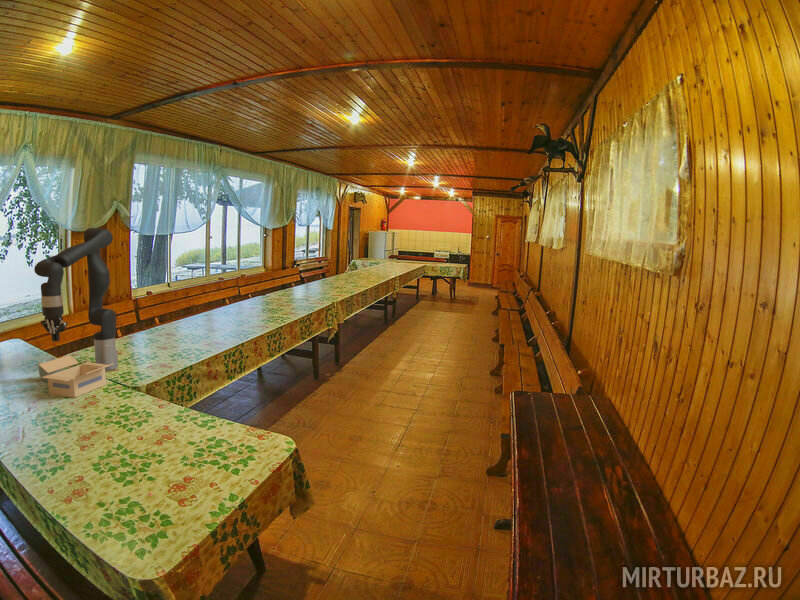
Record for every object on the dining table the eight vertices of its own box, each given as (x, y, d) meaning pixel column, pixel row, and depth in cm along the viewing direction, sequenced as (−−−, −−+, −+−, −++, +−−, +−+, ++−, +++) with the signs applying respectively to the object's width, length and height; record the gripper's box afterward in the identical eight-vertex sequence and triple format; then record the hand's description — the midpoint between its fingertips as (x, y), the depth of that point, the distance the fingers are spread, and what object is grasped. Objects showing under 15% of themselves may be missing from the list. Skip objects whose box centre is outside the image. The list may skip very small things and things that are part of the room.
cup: (48, 384, 200) (46, 364, 198) (35, 382, 201) (33, 362, 200) (64, 378, 207) (63, 359, 206) (51, 376, 209) (50, 357, 207)
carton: (87, 379, 208) (86, 361, 206) (111, 383, 205) (110, 365, 204) (42, 396, 186) (40, 377, 184) (68, 400, 184) (66, 380, 182)
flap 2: (75, 376, 186) (75, 377, 186) (85, 373, 184) (85, 374, 184) (104, 366, 200) (104, 367, 200) (113, 363, 199) (114, 363, 199)
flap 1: (78, 362, 202) (78, 363, 203) (69, 355, 203) (69, 355, 203) (48, 372, 188) (47, 373, 188) (38, 364, 188) (38, 364, 188)
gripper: (72, 304, 193) (75, 340, 196) (48, 302, 195) (52, 337, 198) (56, 307, 186) (59, 344, 189) (32, 305, 188) (35, 341, 191)
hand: (55, 340), depth 194 cm, fingers closed
